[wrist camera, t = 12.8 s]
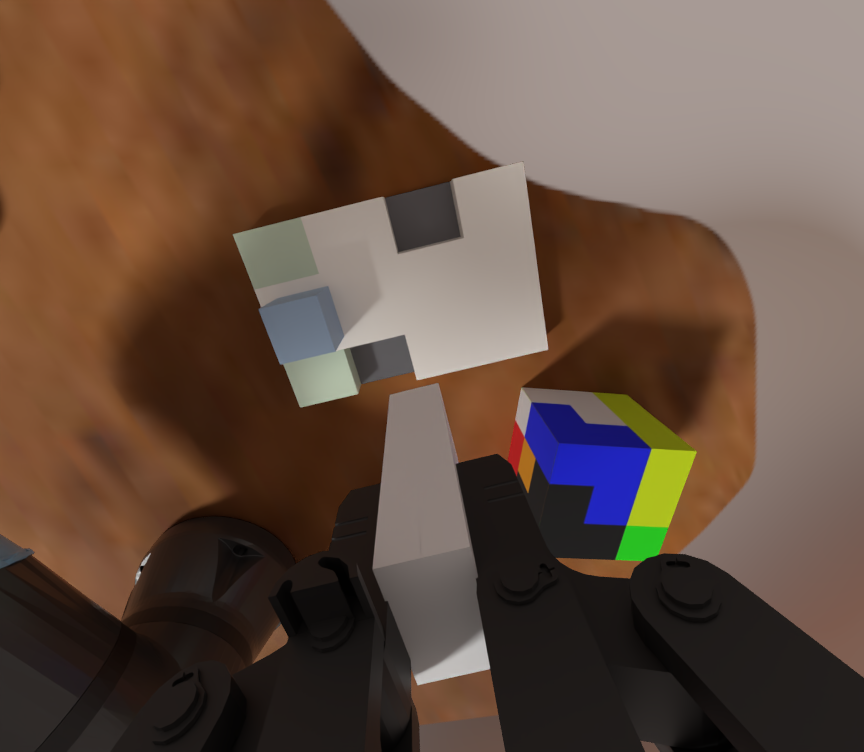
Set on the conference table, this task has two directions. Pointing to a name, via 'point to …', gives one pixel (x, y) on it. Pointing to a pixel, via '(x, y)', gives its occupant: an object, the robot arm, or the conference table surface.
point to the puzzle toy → (597, 473)
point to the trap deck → (410, 281)
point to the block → (302, 325)
